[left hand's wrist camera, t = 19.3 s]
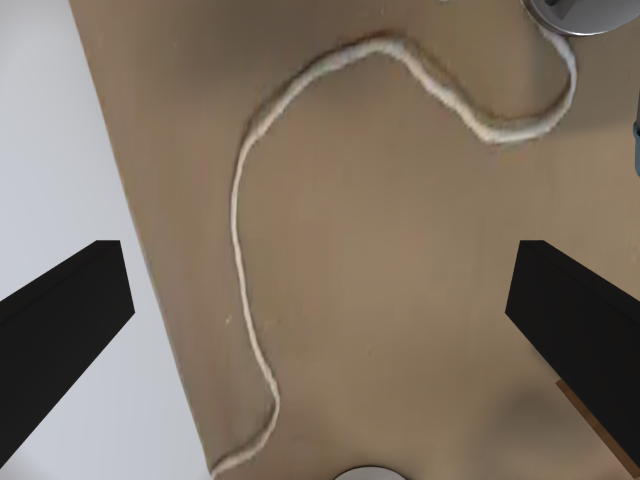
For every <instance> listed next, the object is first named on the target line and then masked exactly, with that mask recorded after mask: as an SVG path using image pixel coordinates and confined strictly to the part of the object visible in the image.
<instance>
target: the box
mask: <svg viewBox="0 0 640 480" xmlns="http://www.w3.org/2000/svg"><path fill="white" fill-rule="evenodd" d="M556 385H557V386H558V387H559V388H560V389H561V391H562V392H563V393H564V394H565V396H566V397H567V398H568V399H569V400H570V402H571V403H572V404H573V405H574V406H575V408H576V409H577V410H578V411H579V413H580V414H581V415H582V416H583V417H584V419H585V420H586V421H587V422H588V423H589V425H590V426H591V427H592V428H593V430H594V431H595V432H596V433H597V434H598V436H599V437H600V438H601V439H602V441H603V442H604V443H605V444H606V445H607V447H608V448H609V449H610V450H611V451H612V453H613V454H614V455H615V456H616V458H617V459H618V460H619V461H620V462H621V464H622V465H623V466H624V467H625V468H626V470H627V471H628V472H629V473H630V475H631V476H632V477H633V478H634V479H635V480H640V469H639V468H638V467H637V465H636V464H635V463H634V462H633V461H632V460H631V458H630V457H629V456H628V455H627V454H626V453H625V451H624V450H623V449H622V448H621V447H620V446H619V445H618V443H617V442H616V441H615V440H614V439H613V438H612V436H611V435H610V434H609V433H608V432H607V431H606V429H605V428H604V427H603V426H602V425H601V424H600V422H599V421H598V420H597V419H596V418H595V417H594V416H593V414H592V413H591V412H590V411H589V410H588V409H587V407H586V406H585V405H584V404H583V403H582V402H581V400H580V399H579V398H578V397H577V396H576V395H575V393H574V392H573V391H572V390H571V389H570V388H569V387H568V385H567V384H566V383H565V382H564V381H563V380H562V379H561V380H559V381H557V382H556Z"/></svg>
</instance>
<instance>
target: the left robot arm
mask: <svg viewBox="0 0 640 480" xmlns="http://www.w3.org/2000/svg"><path fill="white" fill-rule="evenodd" d="M523 1H524V3H525V5H526V7H527V9H528V10H529V12H530V13H531V15H532V16H533V17H534V18H535V19H536V20H537V21H538V22H539V23H540V24H541V25H542V26H544V27H545V28H547V29H548V30H550V31H552V32H554V33H557V34H560V35H564V36H569V37H585V36H591V35H595V34H600V33H604V32H607V31H610V30H613V29H616V28H618V27H620V26H622V25H624V24H626V23H628V22H630V21H632V20H634V19H636V18H637V17H639V16H640V0H523ZM633 134H634V137H635V139H636V147H635V169H636V172H637V174H638V176H639V177H640V92H639V101H638V110H637V119H636V122H635V123H634V125H633ZM134 313H135V310H134V305H133V301H132V296H131V291H130V286H129V281H128V277H127V272H126V267H125V262H124V258H123V253H122V248H121V243H120V240H96V241H95V242H93V243H92V244H90V245H88V246H87V247H85V248H84V249H82V250H81V251H79V252H77V253H76V254H74V255H73V256H71V257H70V258H68V259H66V260H65V261H63V262H62V263H60V264H58V265H57V266H55V267H54V268H52V269H51V270H49V271H47V272H46V273H44V274H43V275H41V276H40V277H38V278H36V279H35V280H33V281H32V282H30V283H29V284H27V285H25V286H24V287H22V288H21V289H19V290H18V291H16V292H14V293H13V294H11V295H10V296H8V297H7V298H5V299H3V300H2V301H0V469H1V468H2V467H3V465H4V464H5V463H6V462H7V461H8V460H9V458H10V457H11V456H12V455H13V454H14V453H15V451H16V450H17V449H18V448H19V447H20V446H21V445H22V443H23V442H24V441H25V440H26V439H27V437H28V436H29V435H30V434H31V433H32V432H33V431H34V429H35V428H36V427H37V426H38V425H39V424H40V422H41V421H42V420H43V419H44V418H45V417H46V416H47V414H48V413H49V412H50V411H51V410H52V409H53V407H54V406H55V405H56V404H57V403H58V402H59V400H60V399H61V398H62V397H63V396H64V395H65V393H66V392H67V391H68V390H69V389H70V388H71V387H72V385H73V384H74V383H75V382H76V381H77V380H78V378H79V377H80V376H81V375H82V374H83V373H84V371H85V370H86V369H87V368H88V367H89V366H90V365H91V363H92V362H93V361H94V360H95V359H96V358H97V356H98V355H99V354H100V353H101V352H102V351H103V349H104V348H105V347H106V346H107V345H108V344H109V342H110V341H111V340H112V339H113V338H114V337H115V335H116V334H117V333H118V332H119V331H120V330H121V329H122V327H123V326H124V325H125V324H126V323H127V322H128V320H129V319H130V318H131V317H132V316H133V315H134ZM505 313H506V315H507V316H508V317H509V318H510V319H511V320H512V322H513V323H514V324H515V325H516V326H517V327H518V329H519V330H520V331H521V332H522V333H523V334H524V336H525V337H526V338H527V339H528V340H529V341H530V342H531V344H532V345H533V346H534V347H535V348H536V349H537V351H538V352H539V353H540V354H541V355H542V356H543V358H544V359H545V360H546V361H547V362H548V363H549V365H550V366H551V367H552V368H553V369H554V370H555V371H556V373H557V374H558V375H559V376H560V377H561V378H562V380H563V381H564V382H565V383H566V384H567V385H568V387H569V388H570V389H571V390H572V391H573V392H574V393H575V395H576V396H577V397H578V398H579V399H580V400H581V402H582V403H583V404H584V405H585V406H586V407H587V409H588V410H589V411H590V412H591V413H592V414H593V416H594V417H595V418H596V419H597V420H598V421H599V422H600V424H601V425H602V426H603V427H604V428H605V429H606V431H607V432H608V433H609V434H610V435H611V436H612V438H613V439H614V440H615V441H616V442H617V443H618V445H619V446H620V447H621V448H622V449H623V450H624V451H625V453H626V454H627V455H628V456H629V457H630V458H631V460H632V461H633V462H634V463H635V464H636V465H637V467H638V468H639V469H640V301H638V300H637V299H635V298H634V297H632V296H630V295H629V294H627V293H626V292H624V291H623V290H621V289H619V288H618V287H616V286H615V285H613V284H611V283H610V282H608V281H607V280H605V279H604V278H602V277H600V276H599V275H597V274H596V273H594V272H593V271H591V270H589V269H588V268H586V267H585V266H583V265H582V264H580V263H578V262H577V261H575V260H574V259H572V258H571V257H569V256H567V255H566V254H564V253H563V252H561V251H560V250H558V249H556V248H555V247H553V246H552V245H550V244H548V243H547V242H545V241H544V240H520V243H519V248H518V253H517V258H516V262H515V267H514V272H513V277H512V281H511V286H510V291H509V296H508V300H507V305H506V310H505Z"/></svg>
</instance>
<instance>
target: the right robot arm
mask: <svg viewBox="0 0 640 480" xmlns="http://www.w3.org/2000/svg"><path fill="white" fill-rule="evenodd" d="M335 480H406V479H404V478H403V477H402V476H400V475H399V474H397V473H395V472H393V471H391V470H388V469H384V468H379V467H363V468H357V469H353V470H350V471H348V472H345V473H343V474H342V475H340V476H339V477H337V478H336V479H335Z"/></svg>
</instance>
